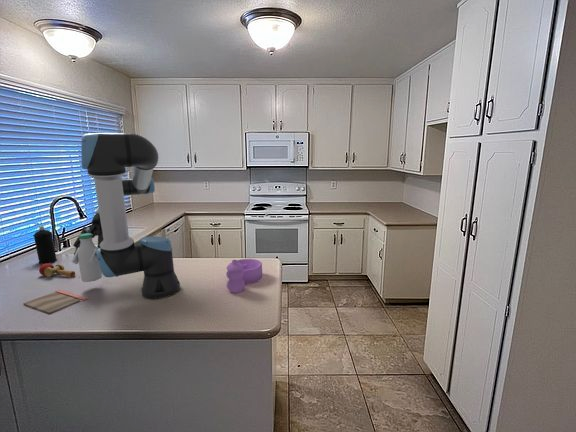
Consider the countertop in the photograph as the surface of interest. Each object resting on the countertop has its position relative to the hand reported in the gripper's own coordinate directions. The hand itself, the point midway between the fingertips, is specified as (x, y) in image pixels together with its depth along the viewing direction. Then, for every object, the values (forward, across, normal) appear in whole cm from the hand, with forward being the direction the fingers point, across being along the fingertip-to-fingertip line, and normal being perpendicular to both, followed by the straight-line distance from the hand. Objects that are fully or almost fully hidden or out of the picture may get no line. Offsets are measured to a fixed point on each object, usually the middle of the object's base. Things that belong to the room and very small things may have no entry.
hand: (83, 262), depth 132 cm
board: (+17, +7, -2) cm, 18 cm away
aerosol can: (-16, +51, -33) cm, 63 cm away
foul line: (+12, +5, -6) cm, 14 cm away
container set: (0, -64, -20) cm, 67 cm away
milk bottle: (+4, 0, -9) cm, 10 cm away
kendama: (-2, +28, -20) cm, 35 cm away
